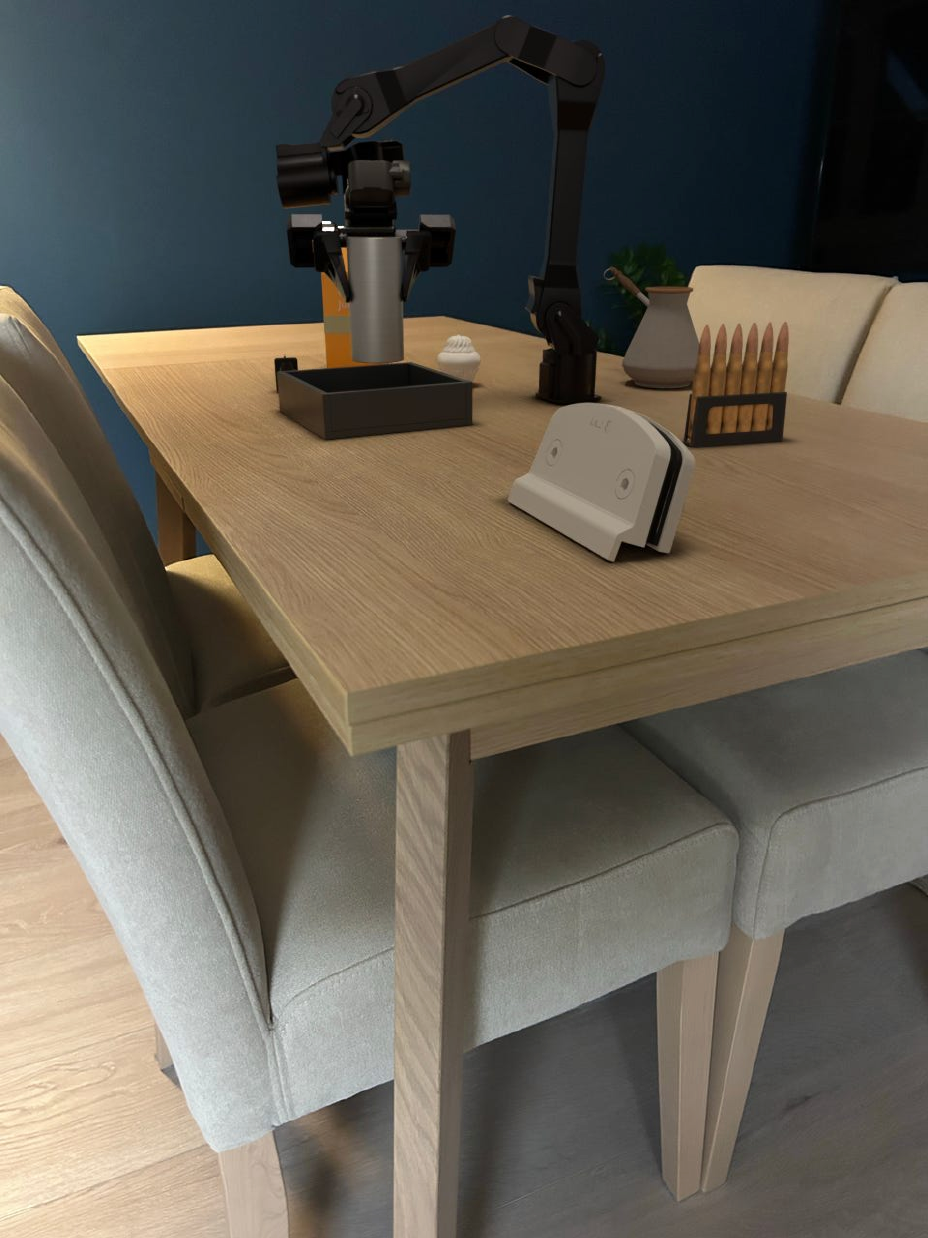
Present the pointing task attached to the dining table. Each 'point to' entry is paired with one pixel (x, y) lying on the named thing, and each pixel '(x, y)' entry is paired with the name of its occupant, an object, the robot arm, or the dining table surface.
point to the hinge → (607, 479)
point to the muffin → (459, 358)
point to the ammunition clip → (738, 390)
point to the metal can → (375, 299)
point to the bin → (374, 399)
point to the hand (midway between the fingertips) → (376, 299)
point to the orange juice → (337, 324)
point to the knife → (285, 365)
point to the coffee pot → (661, 338)
